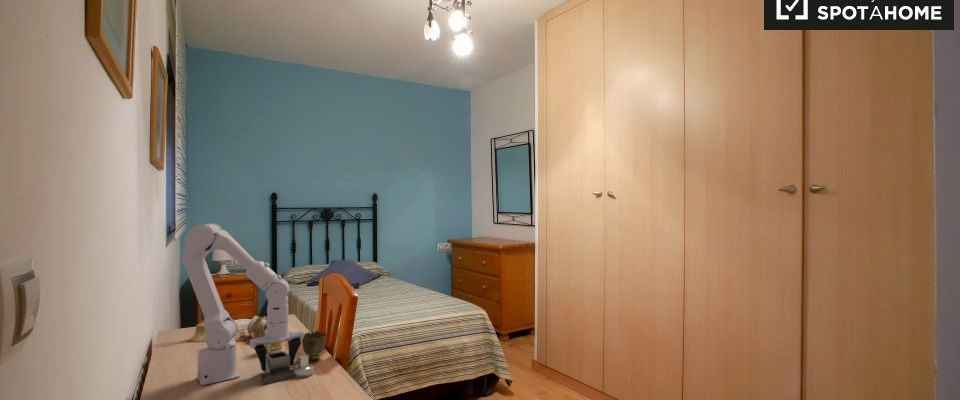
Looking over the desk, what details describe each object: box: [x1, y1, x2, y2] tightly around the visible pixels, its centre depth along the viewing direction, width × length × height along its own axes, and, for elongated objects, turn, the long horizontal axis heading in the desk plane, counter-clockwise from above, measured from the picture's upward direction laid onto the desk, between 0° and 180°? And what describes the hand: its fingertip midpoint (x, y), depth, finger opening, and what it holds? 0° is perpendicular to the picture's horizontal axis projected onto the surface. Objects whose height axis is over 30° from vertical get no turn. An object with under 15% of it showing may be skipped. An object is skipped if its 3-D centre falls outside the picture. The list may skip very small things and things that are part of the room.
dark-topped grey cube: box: [264, 350, 291, 374], centre depth 135 cm, size 6×6×5 cm
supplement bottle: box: [264, 329, 283, 354], centre depth 154 cm, size 5×5×10 cm
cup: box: [301, 330, 327, 361], centre depth 147 cm, size 8×7×8 cm
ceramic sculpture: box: [246, 315, 267, 340], centre depth 168 cm, size 11×9×15 cm
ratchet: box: [260, 354, 315, 386], centre depth 131 cm, size 14×6×5 cm, turn 129°
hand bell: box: [189, 303, 206, 343], centre depth 167 cm, size 8×8×16 cm
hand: (277, 367), depth 135 cm, fingers open, 7 cm apart
